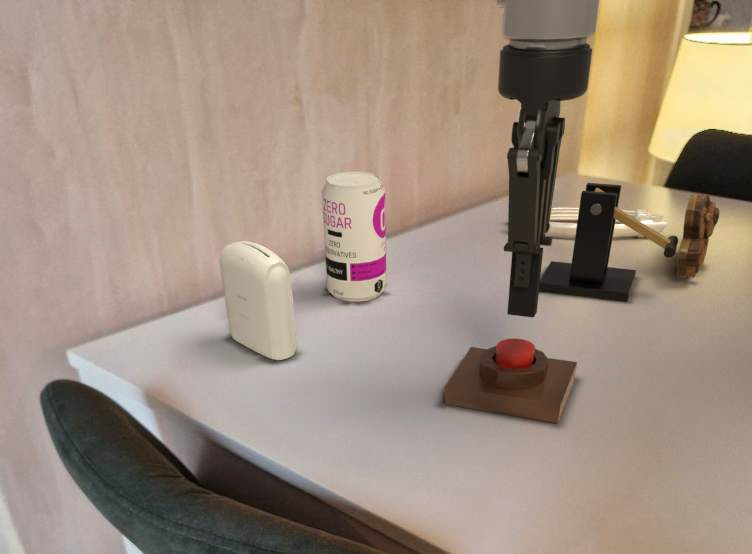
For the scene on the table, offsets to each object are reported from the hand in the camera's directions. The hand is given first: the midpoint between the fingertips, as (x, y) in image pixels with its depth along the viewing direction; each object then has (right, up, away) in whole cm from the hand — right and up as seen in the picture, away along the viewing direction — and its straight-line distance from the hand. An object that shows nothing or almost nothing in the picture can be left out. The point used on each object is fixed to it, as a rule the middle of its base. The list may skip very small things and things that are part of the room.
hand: (522, 312), depth 77 cm
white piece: (+20, +26, +48) cm, 59 cm away
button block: (0, -7, +5) cm, 9 cm away
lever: (+19, +17, +24) cm, 35 cm away
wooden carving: (+31, +15, +34) cm, 48 cm away
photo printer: (-29, 0, +16) cm, 33 cm away
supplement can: (-17, +10, +29) cm, 36 cm away
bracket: (+15, +12, +29) cm, 35 cm away
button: (0, -4, +3) cm, 5 cm away
